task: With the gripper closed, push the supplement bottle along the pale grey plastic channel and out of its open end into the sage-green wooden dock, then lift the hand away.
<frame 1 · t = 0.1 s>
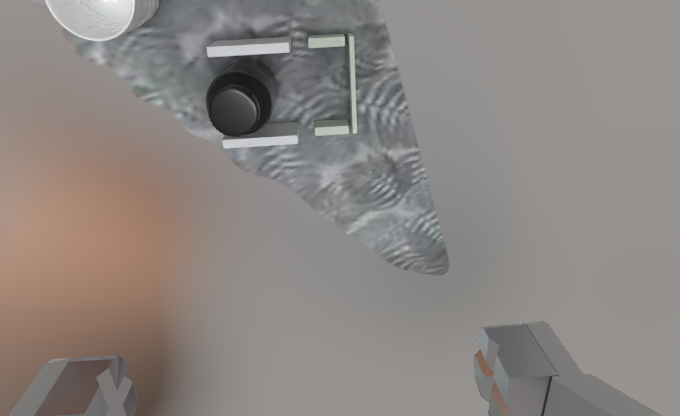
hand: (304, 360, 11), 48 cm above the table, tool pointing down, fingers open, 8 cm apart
supplement bottle: (249, 87, 55), on the table
channel: (259, 87, 55), on the table
dock: (328, 83, 55), on the table
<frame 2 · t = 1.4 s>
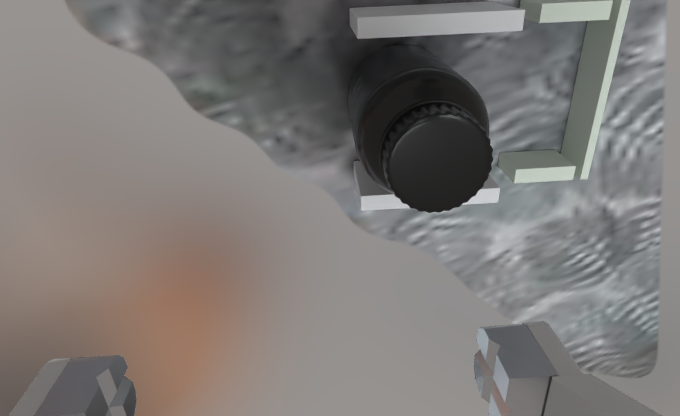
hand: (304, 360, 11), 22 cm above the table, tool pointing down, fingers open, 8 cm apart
supplement bottle: (396, 94, 31), on the table
channel: (415, 94, 30), on the table
dock: (537, 88, 31), on the table
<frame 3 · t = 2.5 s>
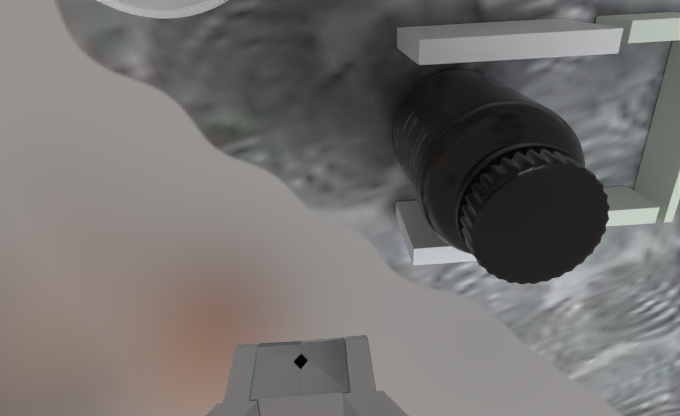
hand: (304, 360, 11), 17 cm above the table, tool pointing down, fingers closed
supplement bottle: (447, 126, 26), on the table
channel: (470, 126, 26), on the table
dock: (611, 117, 26), on the table
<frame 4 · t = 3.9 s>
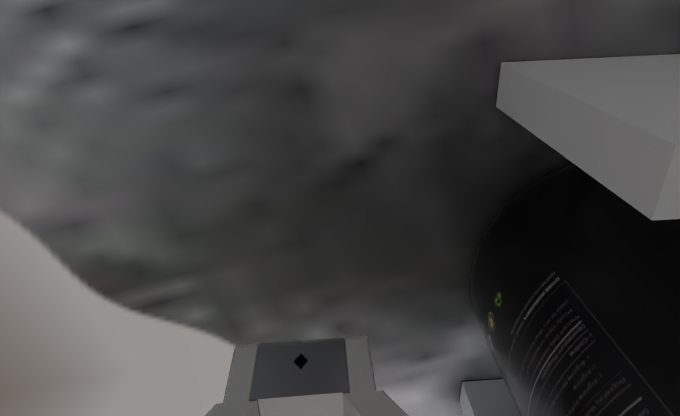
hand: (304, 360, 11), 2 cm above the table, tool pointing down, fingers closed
supplement bottle: (577, 255, 13), on the table
channel: (625, 257, 13), on the table
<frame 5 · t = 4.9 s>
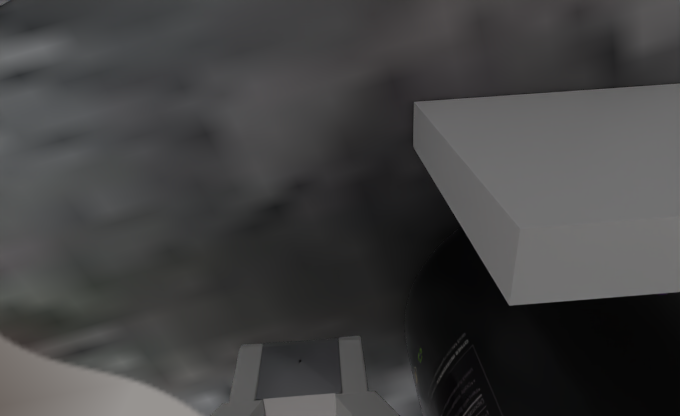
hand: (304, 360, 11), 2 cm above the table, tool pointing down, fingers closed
supplement bottle: (520, 295, 12), on the table, touching gripper
channel: (567, 295, 12), on the table
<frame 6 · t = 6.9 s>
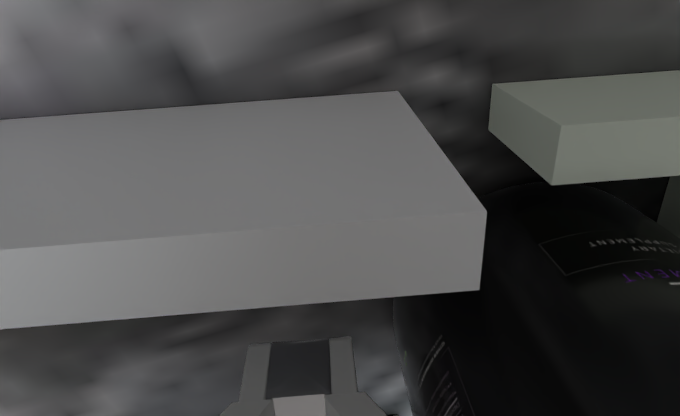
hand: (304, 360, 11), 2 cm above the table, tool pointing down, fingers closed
supplement bottle: (509, 286, 12), on the table, touching dock, gripper
channel: (237, 312, 12), on the table
dock: (547, 287, 12), on the table
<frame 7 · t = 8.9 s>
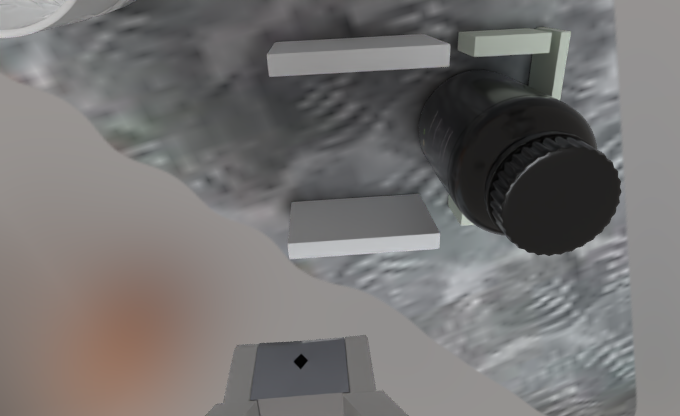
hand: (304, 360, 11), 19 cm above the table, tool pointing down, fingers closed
supplement bottle: (467, 122, 29), on the table
channel: (353, 131, 28), on the table
dock: (484, 123, 29), on the table
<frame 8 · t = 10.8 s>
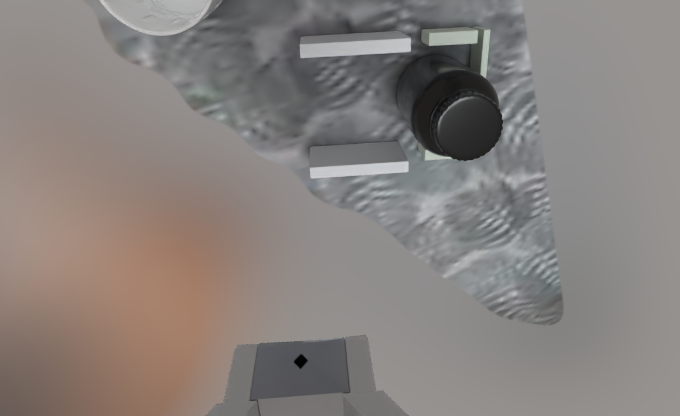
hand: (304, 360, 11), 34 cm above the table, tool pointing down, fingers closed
supplement bottle: (429, 90, 42), on the table
channel: (352, 97, 42), on the table
dock: (441, 91, 42), on the table
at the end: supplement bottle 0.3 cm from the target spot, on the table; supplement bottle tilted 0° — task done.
